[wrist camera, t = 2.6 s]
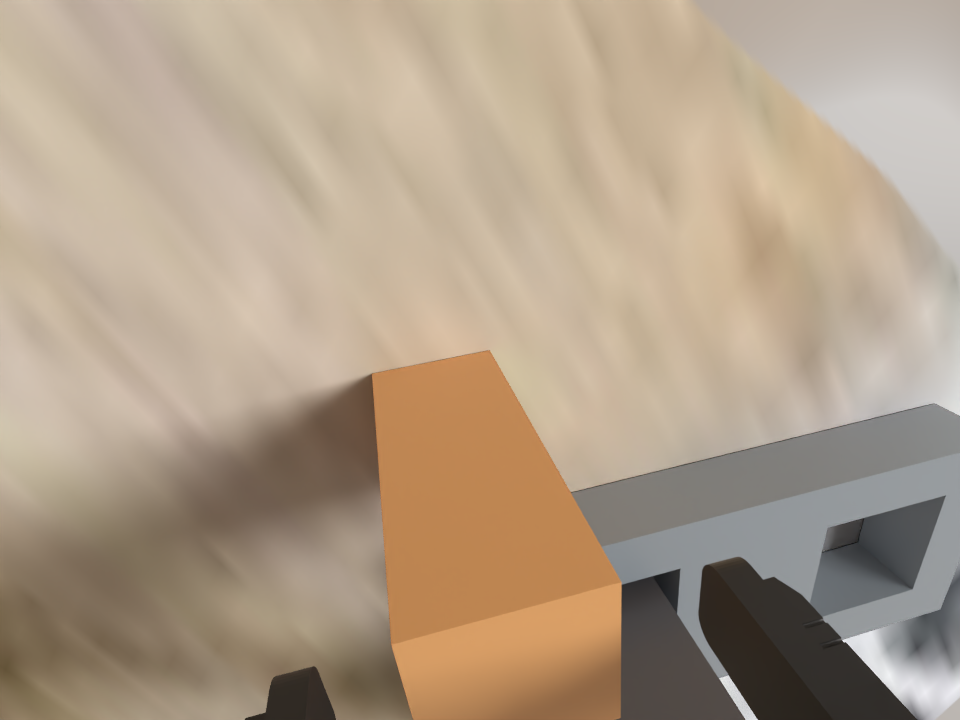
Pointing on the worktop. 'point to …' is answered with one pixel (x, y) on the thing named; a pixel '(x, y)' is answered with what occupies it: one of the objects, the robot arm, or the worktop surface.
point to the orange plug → (488, 556)
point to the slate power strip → (778, 544)
